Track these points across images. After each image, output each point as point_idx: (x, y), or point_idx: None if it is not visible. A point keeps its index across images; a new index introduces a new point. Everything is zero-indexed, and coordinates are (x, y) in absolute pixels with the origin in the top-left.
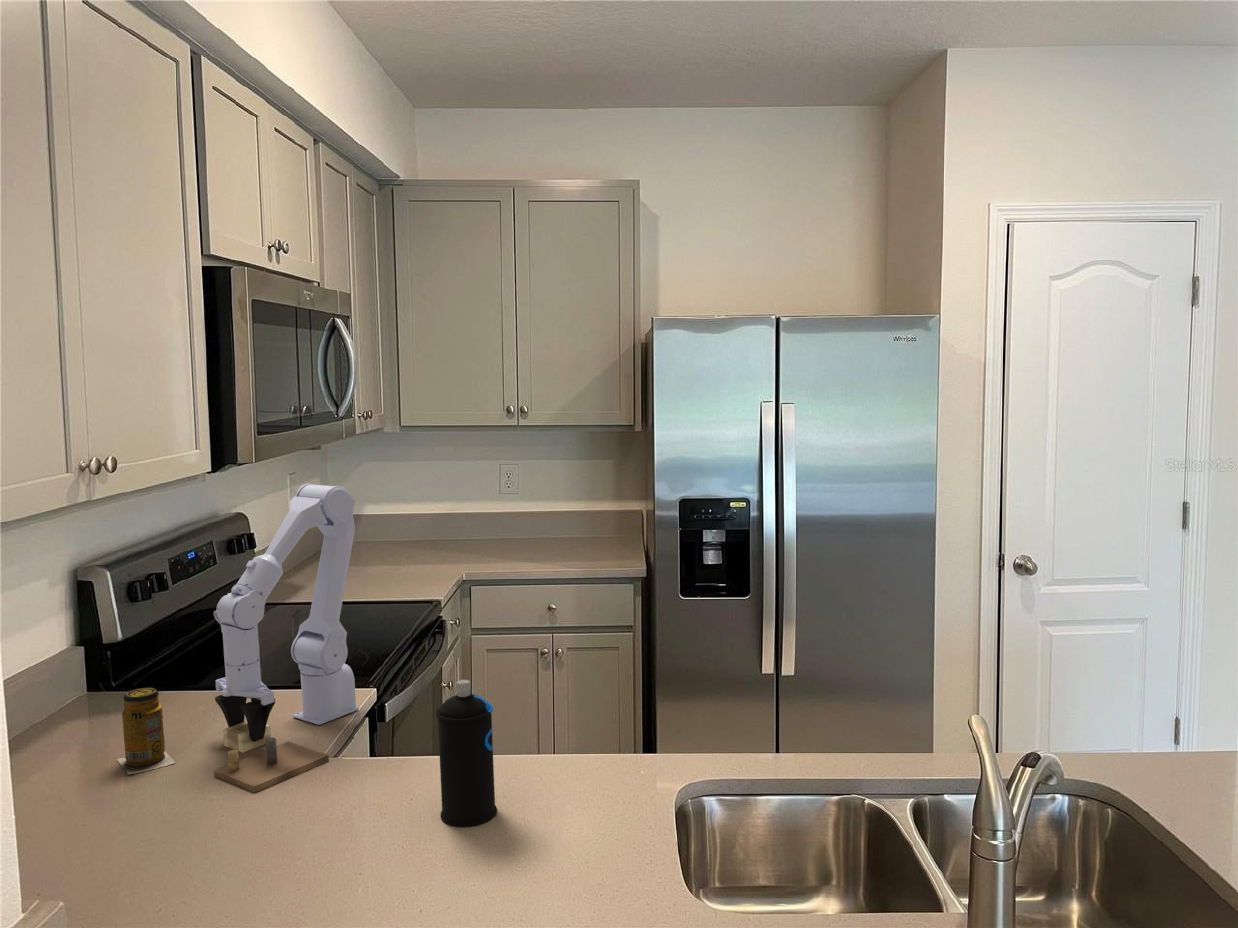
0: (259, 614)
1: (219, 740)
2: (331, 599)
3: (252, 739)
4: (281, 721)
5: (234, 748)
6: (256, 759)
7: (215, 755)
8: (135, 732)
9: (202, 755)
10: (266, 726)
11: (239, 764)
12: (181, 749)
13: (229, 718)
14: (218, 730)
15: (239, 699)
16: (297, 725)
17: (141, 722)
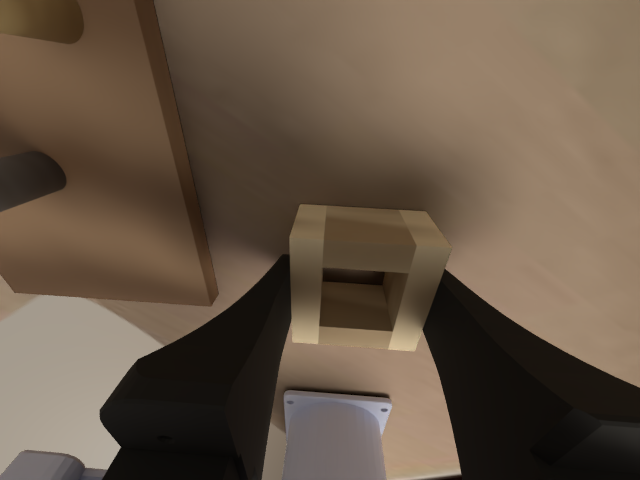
0: None
1: (486, 233)
2: None
3: (282, 257)
4: (399, 377)
5: (354, 208)
6: (120, 159)
7: (379, 129)
8: None
9: (439, 94)
10: (294, 332)
11: (111, 77)
12: (613, 84)
13: (460, 309)
14: (558, 284)
15: (478, 444)
16: (337, 375)
17: None
